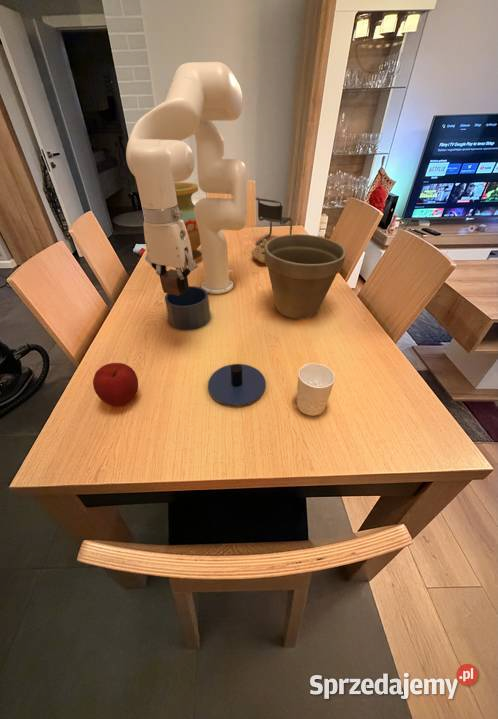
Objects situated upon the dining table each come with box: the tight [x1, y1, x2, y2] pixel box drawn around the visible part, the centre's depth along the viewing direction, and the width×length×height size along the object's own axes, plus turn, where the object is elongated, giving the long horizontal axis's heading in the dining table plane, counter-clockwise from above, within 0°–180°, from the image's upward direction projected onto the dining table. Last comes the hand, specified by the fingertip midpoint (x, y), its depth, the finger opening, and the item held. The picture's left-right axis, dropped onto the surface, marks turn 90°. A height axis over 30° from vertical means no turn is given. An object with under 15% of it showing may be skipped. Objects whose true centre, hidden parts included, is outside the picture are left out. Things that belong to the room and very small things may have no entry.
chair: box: [255, 196, 293, 246], centre depth 149 cm, size 13×17×22 cm
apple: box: [92, 362, 139, 408], centre depth 70 cm, size 10×10×10 cm
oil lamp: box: [251, 238, 268, 264], centre depth 135 cm, size 11×15×8 cm
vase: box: [174, 181, 202, 266], centre depth 131 cm, size 20×20×30 cm
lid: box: [207, 363, 267, 407], centre depth 75 cm, size 15×15×6 cm
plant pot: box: [264, 233, 347, 320], centre depth 99 cm, size 25×25×22 cm
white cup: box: [296, 362, 336, 417], centre depth 69 cm, size 8×8×10 cm
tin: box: [164, 285, 211, 331], centre depth 98 cm, size 14×14×8 cm
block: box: [159, 268, 183, 296], centre depth 76 cm, size 4×4×4 cm
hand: (175, 288), depth 77 cm, fingers closed on block, 4 cm apart
